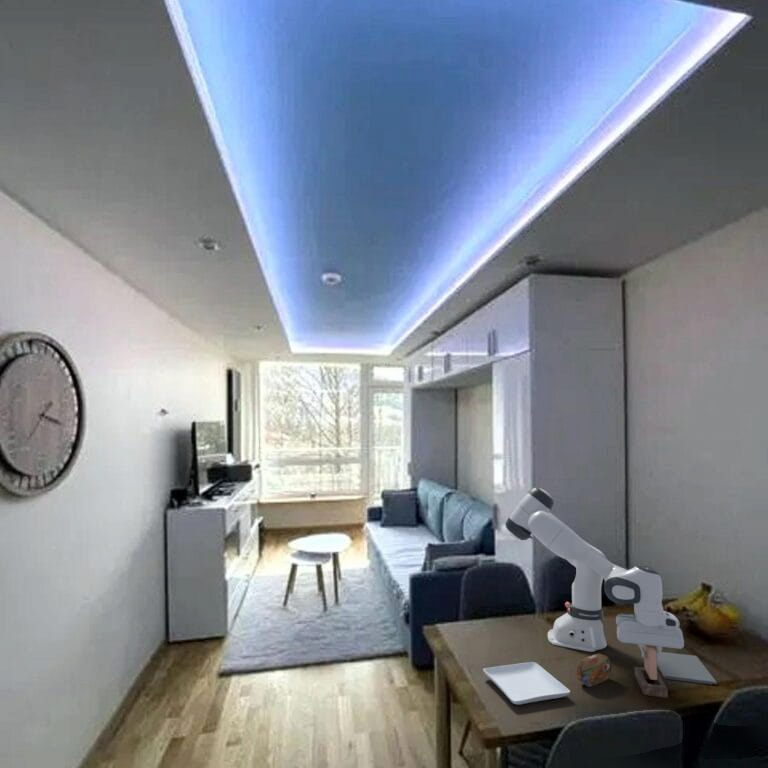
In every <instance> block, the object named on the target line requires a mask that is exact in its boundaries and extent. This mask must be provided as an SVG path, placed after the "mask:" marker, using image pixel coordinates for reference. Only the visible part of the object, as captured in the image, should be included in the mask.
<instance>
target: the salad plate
mask: <svg viewBox="0 0 768 768" xmlns="http://www.w3.org/2000/svg"><path fill="white" fill-rule="evenodd" d="M482 671H483V673H484V674H485V675H486V677H487V678H489V680H491V682H492V683H493V684H495V685H496V686H497V687H498V689H499V690H500V691H501V692H502V693H503V694H504V695H505V696H506V697H507V698H508V699H509V701H510V702H511V703H512V704H514V705H519V706H520V705H524V704H529V703H536V702H540V701H541V702H543V701H547V700H552V699H559V698H564V697H567V696H569V695H570V693H571V690H570V689H569V688H568V687H566V685H564V684H563V683H562V682H561V681H559V680H557V678H555V676H553V675H552V674H550V673H549V672H548V671H547V670H545V668H543V667H542V666H541V665H539V664H538V663H537V662H533V661H531V662H522V663H513V664H505V665H498V666H492V667H485V668H482Z"/></svg>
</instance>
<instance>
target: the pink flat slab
mask: <svg viewBox="0 0 768 768" xmlns="http://www.w3.org/2000/svg"><path fill="white" fill-rule="evenodd" d="M643 646H644V648H643V651H646V652H647V658H643V662H644V663H643V664H644V667H643V668H645V670H646V672H647V674H648V676H649V677H650V679H649V680H651V679H652V680H651V681H654V680H657V671H658V670H657V669H658V667H657V661H656V649H655V648H654V647H655V646H650V645H643Z"/></svg>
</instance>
